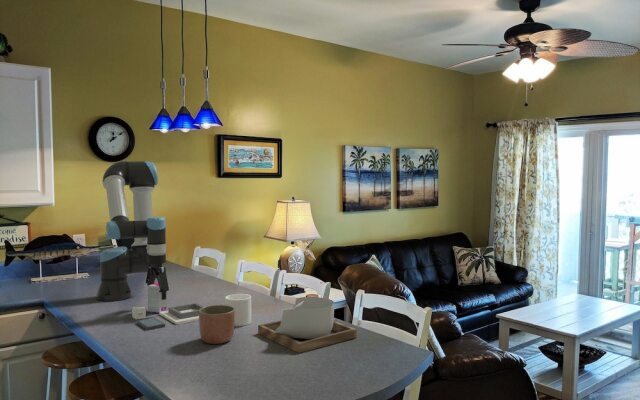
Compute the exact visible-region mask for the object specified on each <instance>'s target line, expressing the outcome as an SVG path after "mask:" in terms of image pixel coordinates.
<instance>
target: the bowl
mask: <svg viewBox="0 0 640 400" xmlns="http://www.w3.org/2000/svg"><path fill="white" fill-rule="evenodd" d="M334 316H335V301H334V300H332V299H329V298H324V297H321V296H319V297H318V296H317V297H316V296H303V297H296V299H295V302H294V308H292V309H285V310H283V312H282V316H281V319H280V321H281V324H280V326H279V327H278V328H277V329H276V330H275V333H279V334H283V335H285V336H287V337H290V338H292V339H299V340H300V339H303V340H310V339H314V338H318V337H322V336H326V335H330V334H331V332H332V331H333V330H332V328H333V322H334V321H335V317H334Z"/></svg>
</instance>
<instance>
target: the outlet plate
mask: <svg viewBox="0 0 640 400" xmlns="http://www.w3.org/2000/svg"><path fill="white" fill-rule="evenodd" d="M203 307H205V306H204V305H202V304H200V303H197V302H194V303H188V304H182V305H175V306H171V307H170V306H169V307H168V308H167V309H168V310H165V311H162V312H159V313H158V314H159V316H161V317H163V318H165V319H166V320H168V321H170V322H171V323H173V324H175V325H182V324H187V323H193V322H199V309H201V308H203Z"/></svg>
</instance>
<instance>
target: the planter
mask: <svg viewBox="0 0 640 400" xmlns="http://www.w3.org/2000/svg"><path fill="white" fill-rule="evenodd" d="M198 324H199V325H198V328H199V335H200V339H201V341H203V342H204V343H206V344H209V345H210V344H211V345H217V344H219V345H220V344H224V343H227V342H230V340H232V338H233V337H234V332H235V327H234V324H235V308H234V307H232V306H227V305H225V304H214V305H208V306H207V305H206V306H204V307H203V308H201V309H199V321H198Z"/></svg>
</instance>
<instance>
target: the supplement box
mask: <svg viewBox="0 0 640 400" xmlns="http://www.w3.org/2000/svg"><path fill="white" fill-rule="evenodd" d="M159 291H160V288H159V284H158V282H157V283H156V282H154V284H152V285H149V286H148V285H147V313H148V314H159V312H162V311H167V307H162V308H160V296H159ZM147 313H146V314H147Z"/></svg>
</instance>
